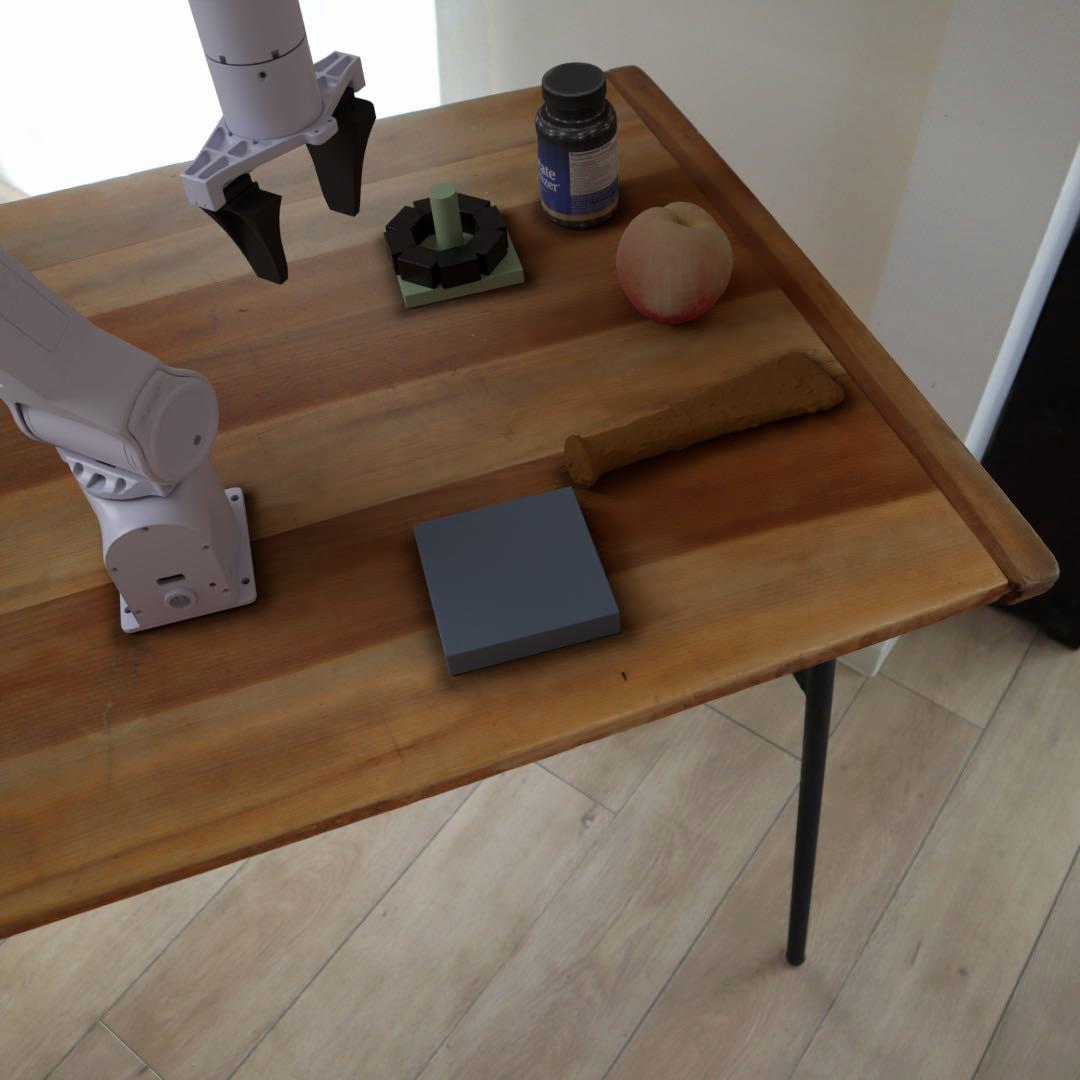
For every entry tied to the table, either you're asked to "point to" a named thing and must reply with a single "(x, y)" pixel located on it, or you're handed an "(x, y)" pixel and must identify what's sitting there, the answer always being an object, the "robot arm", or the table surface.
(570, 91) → the pill bottle
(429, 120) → the table surface
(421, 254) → the black segmented ring
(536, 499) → the gray square coaster
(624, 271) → the fruit
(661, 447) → the primitive tool
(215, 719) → the table surface
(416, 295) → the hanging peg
